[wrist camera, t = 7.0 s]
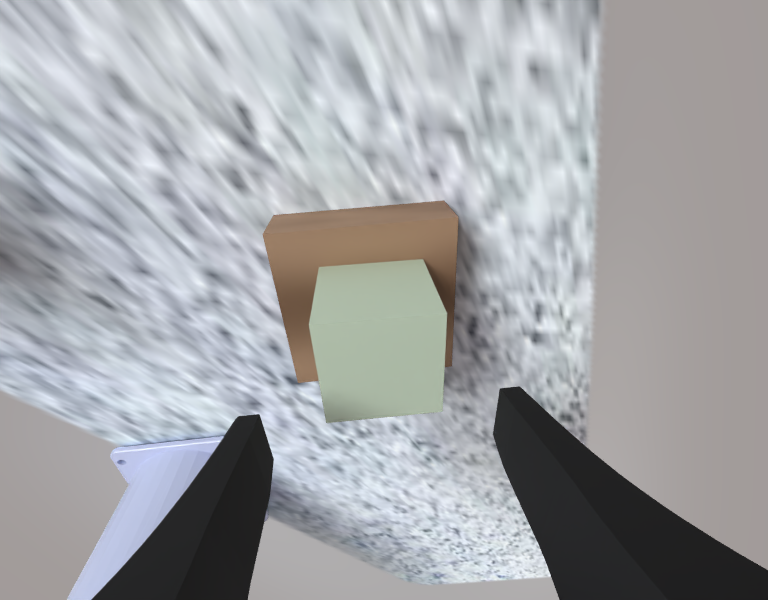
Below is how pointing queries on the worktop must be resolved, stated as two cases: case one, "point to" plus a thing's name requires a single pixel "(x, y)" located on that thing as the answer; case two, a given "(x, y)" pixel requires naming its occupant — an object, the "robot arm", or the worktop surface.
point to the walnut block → (356, 259)
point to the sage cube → (378, 340)
